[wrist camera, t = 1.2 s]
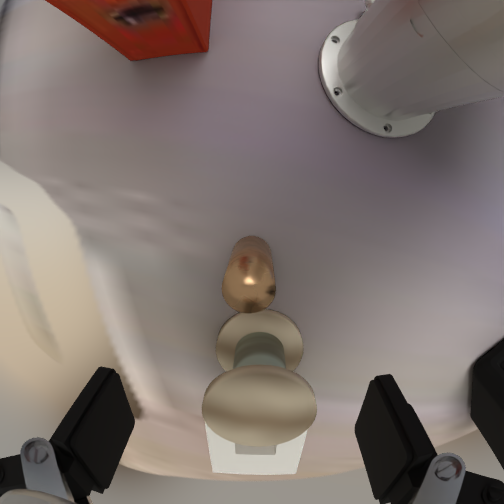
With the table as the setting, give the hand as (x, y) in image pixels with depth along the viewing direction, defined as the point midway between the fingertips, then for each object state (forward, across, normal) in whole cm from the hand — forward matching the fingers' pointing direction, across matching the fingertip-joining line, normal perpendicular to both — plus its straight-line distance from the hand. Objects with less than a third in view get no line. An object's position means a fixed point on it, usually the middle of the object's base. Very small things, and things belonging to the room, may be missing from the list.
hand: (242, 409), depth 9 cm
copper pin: (+18, 0, 0) cm, 19 cm away
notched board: (+19, -1, +25) cm, 31 cm away
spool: (+18, -1, +10) cm, 21 cm away
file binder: (+19, +8, -28) cm, 35 cm away
